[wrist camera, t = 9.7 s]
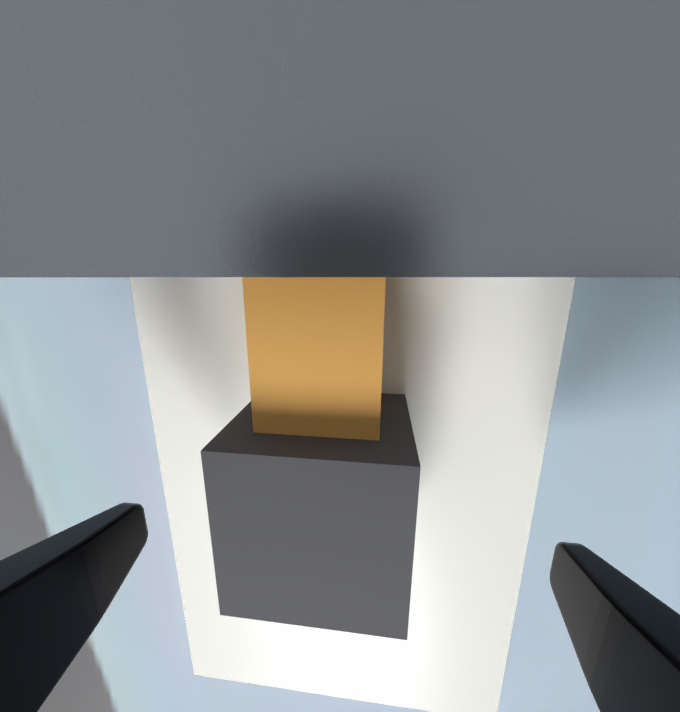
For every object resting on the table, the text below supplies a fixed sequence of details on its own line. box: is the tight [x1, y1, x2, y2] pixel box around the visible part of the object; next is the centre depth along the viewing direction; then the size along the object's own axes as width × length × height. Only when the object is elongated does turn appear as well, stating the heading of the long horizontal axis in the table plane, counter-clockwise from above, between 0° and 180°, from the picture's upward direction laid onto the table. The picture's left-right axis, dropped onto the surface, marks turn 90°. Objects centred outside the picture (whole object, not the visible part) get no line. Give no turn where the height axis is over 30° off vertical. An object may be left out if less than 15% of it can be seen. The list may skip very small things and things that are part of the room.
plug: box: [200, 277, 421, 640], centre depth 7 cm, size 4×14×3 cm, turn 0°
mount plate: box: [129, 277, 576, 712], centre depth 8 cm, size 12×38×1 cm, turn 0°
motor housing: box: [0, 0, 680, 277], centre depth 5 cm, size 11×5×5 cm, turn 90°
